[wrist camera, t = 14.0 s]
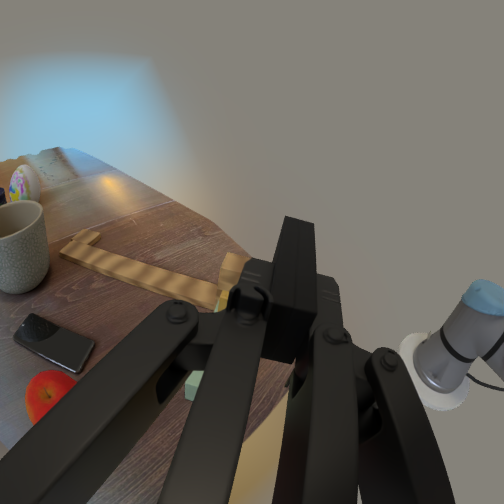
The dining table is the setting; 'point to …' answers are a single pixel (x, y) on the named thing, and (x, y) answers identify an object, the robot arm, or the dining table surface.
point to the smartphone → (54, 343)
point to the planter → (22, 246)
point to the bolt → (223, 300)
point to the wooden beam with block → (153, 272)
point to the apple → (46, 392)
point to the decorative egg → (24, 185)
